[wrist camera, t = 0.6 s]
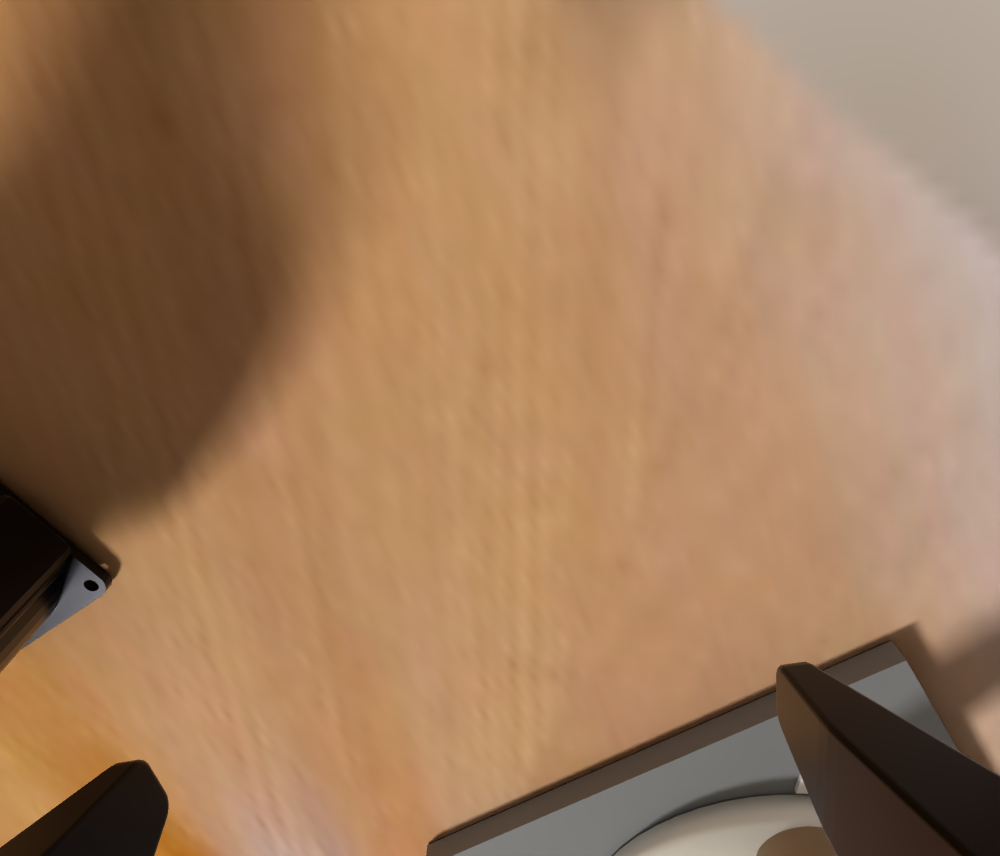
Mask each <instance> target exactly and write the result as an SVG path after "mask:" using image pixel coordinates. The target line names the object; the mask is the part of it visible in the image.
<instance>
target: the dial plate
mask: <svg viewBox="0 0 1000 856" xmlns="http://www.w3.org/2000/svg"><path fill="white" fill-rule="evenodd" d="M823 671H824V672H826V673H827V674H829V675H831V676H833V677H834V678H836V679H838V680H839V681H841V682H843V683H844V684H846V685H848V686H849V687H851V688H853V689H854V690H856V691H858V692H860V693H861V694H863V695H865V696H866V697H868V698H870V699H871V700H873V701H875V702H876V703H878V704H880V705H881V706H883V707H885V708H887V709H888V710H890V711H892V712H893V713H895V714H897V715H898V716H900V717H902V718H903V719H905V720H907V721H908V722H910V723H912V724H914V725H915V726H917V727H919V728H920V729H922V730H924V731H925V732H927V733H929V734H930V735H932V736H934V737H935V738H937V739H939V740H941V741H942V742H944V743H946V744H947V745H949V746H951V747H952V748H954V749H956V750H957V751H958V749H957V747H956V745H955V744H954V742H953V740H952V739H951V737H950V735H949V733H948V732H947V730H946V728H945V726H944V725H943V723H942V721H941V719H940V718H939V716H938V714H937V713H936V711H935V709H934V707H933V706H932V704H931V702H930V700H929V699H928V697H927V695H926V694H925V692H924V690H923V688H922V687H921V685H920V683H919V681H918V680H917V678H916V676H915V674H914V673H913V671H912V669H911V668H910V666H909V664H908V662H907V661H906V659H905V658H904V656H903V655H902V654H901V652H900V651H899V649H898V648H897V647H896V645H895V644H894V642H893V641H892V640H891V641H889V642H887V643H884V644H882V645H880V646H878V647H875V648H873V649H871V650H869V651H866V652H864V653H862V654H859V655H857V656H855V657H853V658H850V659H848V660H846V661H844V662H841V663H839V664H837V665H834V666H832V667H830V668H828V669H825V670H823ZM768 795H809V794H808V792H807V789H806V787H805V784H804V782H803V780H802V777H801V775H800V772H799V770H798V768H797V765H796V763H795V760H794V758H793V756H792V753H791V751H790V748H789V746H788V743H787V741H786V739H785V736H784V734H783V731H782V729H781V726H780V723H779V719H778V715H777V708H776V692H773V693H771V694H769V695H766V696H764V697H762V698H760V699H757V700H755V701H753V702H751V703H748V704H746V705H744V706H742V707H739V708H737V709H735V710H732V711H730V712H728V713H726V714H723V715H721V716H719V717H717V718H714V719H712V720H710V721H708V722H705V723H703V724H701V725H698V726H696V727H694V728H692V729H689V730H687V731H685V732H683V733H680V734H678V735H676V736H673V737H671V738H669V739H667V740H664V741H662V742H660V743H658V744H655V745H653V746H651V747H649V748H646V749H644V750H642V751H639V752H637V753H635V754H633V755H630V756H628V757H626V758H624V759H621V760H619V761H617V762H615V763H612V764H610V765H608V766H605V767H603V768H601V769H599V770H596V771H594V772H592V773H590V774H587V775H585V776H583V777H581V778H578V779H576V780H574V781H571V782H569V783H567V784H565V785H562V786H560V787H558V788H556V789H553V790H551V791H549V792H547V793H544V794H542V795H540V796H537V797H535V798H533V799H531V800H528V801H526V802H524V803H522V804H519V805H517V806H515V807H512V808H510V809H508V810H506V811H503V812H501V813H499V814H497V815H494V816H492V817H490V818H488V819H485V820H483V821H481V822H478V823H476V824H474V825H472V826H469V827H467V828H465V829H463V830H460V831H458V832H456V833H454V834H451V835H449V836H447V837H444V838H442V839H440V840H438V841H435V842H433V843H431V844H429V845H427V855H426V856H614V855H615V854H616V853H617V852H618V851H619V850H620V849H621V848H622V847H624V846H625V845H626V844H628V843H629V842H630V841H632V840H633V839H634V838H636V837H637V836H639V835H641V834H642V833H644V832H646V831H648V830H649V829H651V828H653V827H654V826H656V825H658V824H661V823H663V822H665V821H667V820H669V819H671V818H674V817H676V816H678V815H681V814H684V813H687V812H690V811H692V810H695V809H698V808H701V807H705V806H709V805H713V804H717V803H721V802H725V801H730V800H736V799H742V798H748V797H757V796H768Z"/></svg>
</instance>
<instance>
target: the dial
mask: <svg viewBox="0 0 1000 856" xmlns="http://www.w3.org/2000/svg"><path fill="white" fill-rule="evenodd" d="M614 856H837V854H836V852H835V851H834V849H833V847H832V845H831V843H830V841H829V839H828V837H827V835H826V833H825V831H824V829H823V827H822V825H821V823H820V820H819V818H818V816H817V813H816V811H815V809H814V806H813V804H812V801H811V799H810V797H809V795H768V796H757V797H748V798H742V799H736V800H730V801H725V802H721V803H717V804H713V805H709V806H705V807H701V808H698V809H695V810H692V811H690V812H687V813H684V814H681V815H678V816H676V817H674V818H671V819H669V820H667V821H665V822H663V823H661V824H658V825H656V826H654V827H653V828H651V829H649V830H648V831H646V832H644V833H642V834H641V835H639V836H637V837H636V838H634V839H633V840H632V841H630V842H629V843H628V844H626V845H625V846H624V847H622V848H621V849H620V850H619V851H618V852H617V853H616V854H615V855H614Z"/></svg>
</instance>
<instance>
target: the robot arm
mask: <svg viewBox="0 0 1000 856" xmlns="http://www.w3.org/2000/svg"><path fill="white" fill-rule="evenodd" d="M92 580H93V581H95V582H96V583H97V584H96V583H94V582H93V581H92ZM111 583H112V579H111V576H110V575H109V574H108V573H107V572H106V571H105V570H104V569H103V568H102V567H100V566H99V565H98V564H97V563H96V562H94V561H93V560H92V559H91V558H90V557H89V556H87V555H86V554H85V553H84V552H83V551H81V550H80V549H79V548H78V547H77V546H75V545H74V544H73V543H72V542H71V541H69V540H68V539H67V538H66V537H65V536H63V535H62V534H61V533H60V532H59V531H58V530H56V529H55V528H54V527H53V526H52V525H50V524H49V523H48V522H47V521H46V520H44V519H43V518H42V517H41V516H40V515H38V514H37V513H36V512H35V511H34V510H33V509H31V508H30V507H29V506H28V505H27V504H25V503H24V502H23V501H22V500H21V499H19V498H18V497H17V496H16V495H15V494H13V493H12V492H11V491H10V490H9V489H7V488H6V487H5V486H4V485H3V484H2V483H0V673H1V671H2V670H3V669H4V668H5V667H6V666H7V665H8V663H9V662H10V661H11V660H12V659H13V658H14V657H15V655H16V654H17V653H18V652H19V651H20V650H21V649H22V648H24V647H25V646H27V645H28V644H30V643H31V642H33V641H34V640H36V639H37V638H39V637H40V636H42V635H43V634H45V633H46V632H48V631H49V630H51V629H52V628H54V627H55V626H57V625H58V624H60V623H61V622H63V621H64V620H66V619H67V618H69V617H70V616H72V615H73V614H75V613H76V612H78V611H79V610H81V609H82V608H84V607H85V606H87V605H88V604H90V603H91V602H93V601H94V600H96V599H97V598H99V597H100V596H102V595H103V594H104V593H105V591H106V590H107V589H108V588H109V586H110V585H111ZM776 708H777V715H778V719H779V723H780V726H781V729H782V731H783V734H784V736H785V739H786V741H787V743H788V746H789V748H790V751H791V753H792V756H793V758H794V760H795V763H796V765H797V768H798V770H799V772H800V775H801V777H802V780H803V782H804V784H805V787H806V789H807V792H808V794H809V797H810V799H811V801H812V804H813V806H814V809H815V811H816V813H817V816H818V818H819V820H820V823H821V825H822V827H823V829H824V831H825V833H826V835H827V837H828V839H829V841H830V843H831V845H832V847H833V849H834V851H835V852H836V854H837V856H1000V775H998V774H996V773H995V772H993V771H991V770H989V769H988V768H986V767H984V766H983V765H981V764H979V763H978V762H976V761H974V760H973V759H971V758H969V757H968V756H966V755H964V754H962V753H961V752H959V751H957V750H956V749H954V748H952V747H951V746H949V745H947V744H946V743H944V742H942V741H941V740H939V739H937V738H935V737H934V736H932V735H930V734H929V733H927V732H925V731H924V730H922V729H920V728H919V727H917V726H915V725H914V724H912V723H910V722H908V721H907V720H905V719H903V718H902V717H900V716H898V715H897V714H895V713H893V712H892V711H890V710H888V709H887V708H885V707H883V706H881V705H880V704H878V703H876V702H875V701H873V700H871V699H870V698H868V697H866V696H865V695H863V694H861V693H860V692H858V691H856V690H854V689H853V688H851V687H849V686H848V685H846V684H844V683H843V682H841V681H839V680H838V679H836V678H834V677H833V676H831V675H829V674H827V673H826V672H824V671H822V670H821V669H819V668H817V667H816V666H814V665H812V664H810V663H807V662H799V663H792V664H785V665H781V666H779V667H778V669H777V673H776ZM168 808H169V806H168V797H167V794H166V792H165V790H164V789H163V787H162V785H161V784H160V782H159V781H158V779H157V777H156V776H155V774H154V772H153V771H152V769H151V767H150V766H149V764H148V763H147V762H145V761H144V760H134V761H128V762H121V763H117V764H115V765H113V766H111V767H110V768H108V769H107V770H105V771H104V772H103V773H101V774H100V775H99V776H97V777H96V778H95V779H93V780H92V781H91V782H89V783H88V784H86V785H85V786H84V787H82V788H81V789H80V790H78V791H77V792H76V793H74V794H73V795H71V796H70V797H69V798H67V799H66V800H65V801H63V802H62V803H61V804H59V805H58V806H56V807H55V808H54V809H52V810H51V811H50V812H48V813H47V814H46V815H44V816H43V817H41V818H40V819H39V820H37V821H36V822H35V823H33V824H32V825H31V826H29V827H28V828H26V829H25V830H24V831H22V832H21V833H20V834H18V835H17V836H16V837H14V838H13V839H11V840H10V841H9V842H7V843H6V844H5V845H3V846H2V847H1V848H0V856H154V855H155V852H156V849H157V846H158V843H159V840H160V837H161V834H162V831H163V828H164V825H165V822H166V819H167V815H168Z"/></svg>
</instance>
